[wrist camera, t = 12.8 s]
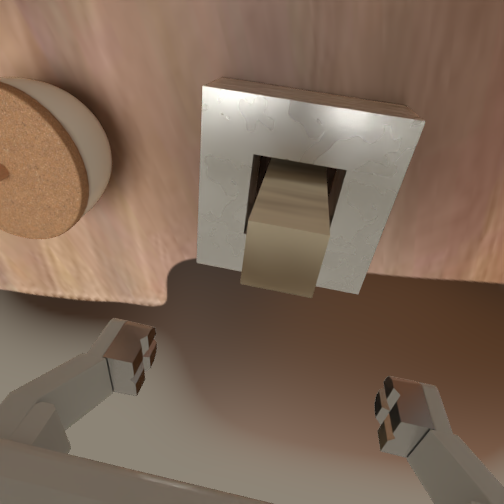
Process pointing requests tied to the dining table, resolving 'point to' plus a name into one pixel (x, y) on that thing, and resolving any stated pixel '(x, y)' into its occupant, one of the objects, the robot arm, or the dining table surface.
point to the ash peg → (288, 229)
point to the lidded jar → (48, 159)
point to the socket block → (306, 151)
